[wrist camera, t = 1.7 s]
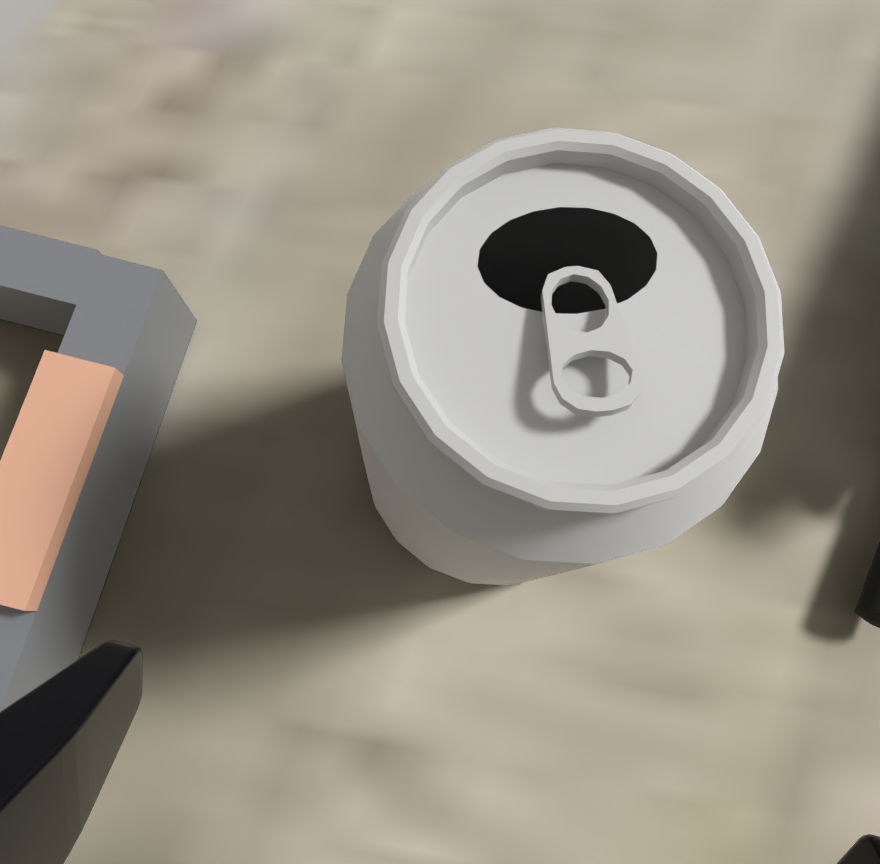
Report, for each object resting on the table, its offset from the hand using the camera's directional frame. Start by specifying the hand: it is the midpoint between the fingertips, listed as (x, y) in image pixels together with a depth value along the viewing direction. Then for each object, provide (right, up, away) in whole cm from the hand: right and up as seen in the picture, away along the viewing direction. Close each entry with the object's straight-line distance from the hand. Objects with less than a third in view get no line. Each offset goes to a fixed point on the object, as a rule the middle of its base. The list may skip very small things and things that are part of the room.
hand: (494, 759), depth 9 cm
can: (+1, +3, +14) cm, 14 cm away
